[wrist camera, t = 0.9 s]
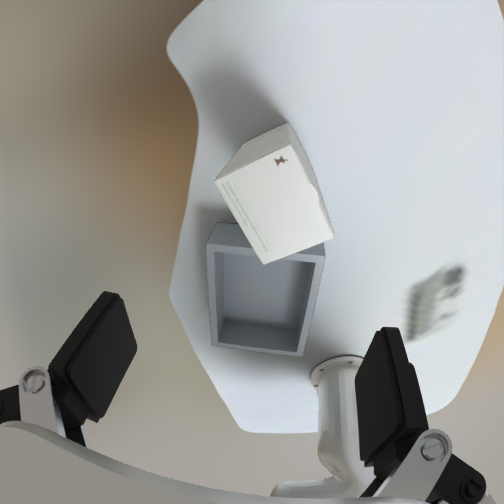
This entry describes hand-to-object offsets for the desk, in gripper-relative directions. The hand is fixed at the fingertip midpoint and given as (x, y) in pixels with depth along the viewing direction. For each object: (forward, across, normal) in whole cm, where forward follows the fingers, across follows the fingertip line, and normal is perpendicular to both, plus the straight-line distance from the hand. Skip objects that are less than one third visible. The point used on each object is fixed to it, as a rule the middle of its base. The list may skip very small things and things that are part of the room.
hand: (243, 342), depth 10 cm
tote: (+28, +1, +18) cm, 33 cm away
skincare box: (+28, 0, 0) cm, 28 cm away
